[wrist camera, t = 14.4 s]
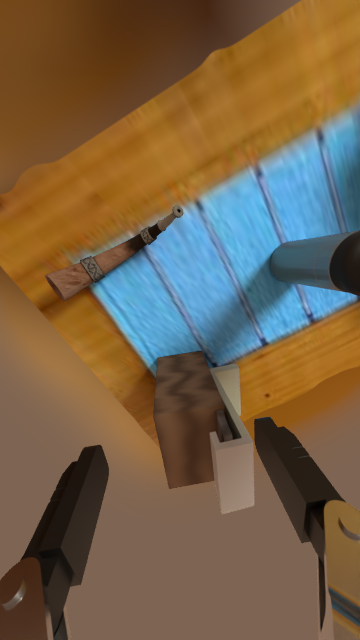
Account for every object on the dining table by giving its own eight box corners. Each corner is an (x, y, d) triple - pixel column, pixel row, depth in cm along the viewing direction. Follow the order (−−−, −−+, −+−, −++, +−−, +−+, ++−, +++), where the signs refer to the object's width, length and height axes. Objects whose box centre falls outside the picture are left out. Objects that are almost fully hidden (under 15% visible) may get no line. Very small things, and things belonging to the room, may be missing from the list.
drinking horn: (56, 277, 43) (25, 281, 33) (172, 207, 40) (174, 190, 31) (72, 298, 44) (47, 308, 35) (184, 232, 42) (190, 224, 32)
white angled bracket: (235, 363, 46) (292, 433, 28) (237, 409, 51) (288, 496, 32) (189, 372, 45) (215, 450, 26) (195, 418, 50) (221, 514, 31)
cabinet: (201, 350, 51) (234, 429, 27) (207, 404, 56) (238, 509, 33) (157, 357, 50) (151, 443, 27) (167, 411, 56) (169, 522, 32)
